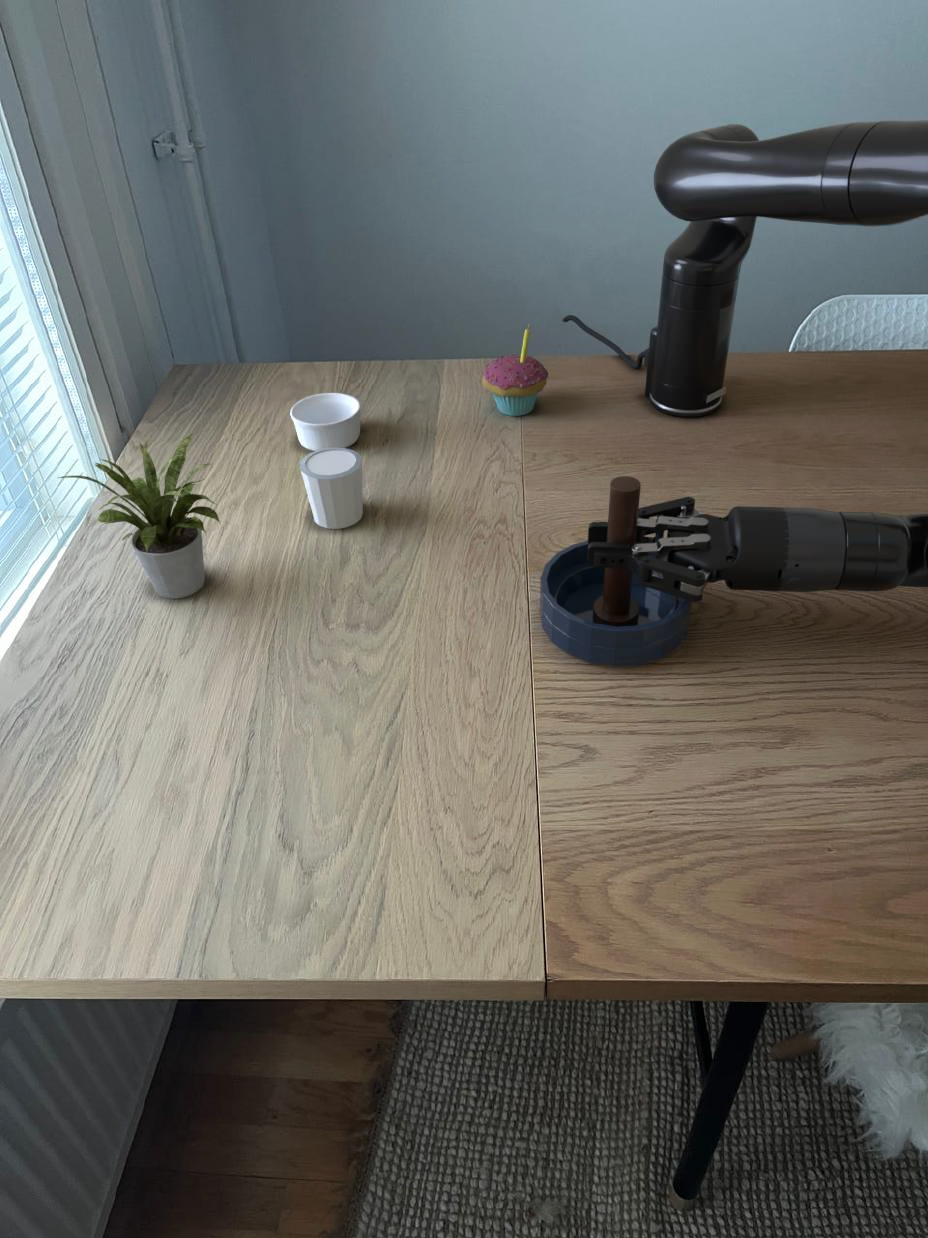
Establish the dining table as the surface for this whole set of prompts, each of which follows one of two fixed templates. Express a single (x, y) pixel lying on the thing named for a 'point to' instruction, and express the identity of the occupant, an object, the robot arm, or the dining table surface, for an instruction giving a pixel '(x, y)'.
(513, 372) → the cupcake
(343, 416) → the ramekin
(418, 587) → the dining table surface
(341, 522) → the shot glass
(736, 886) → the dining table surface
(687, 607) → the bowl
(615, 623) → the stirrer
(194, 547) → the house plant
